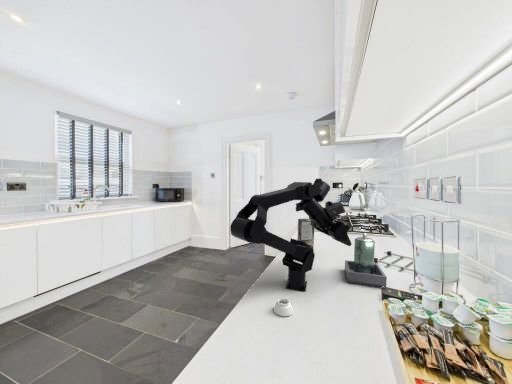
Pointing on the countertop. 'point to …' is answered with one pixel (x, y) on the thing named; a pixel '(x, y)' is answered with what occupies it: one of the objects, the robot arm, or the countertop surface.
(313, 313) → the countertop surface
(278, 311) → the white jar
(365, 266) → the spout can
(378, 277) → the tray
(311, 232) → the coffee box
